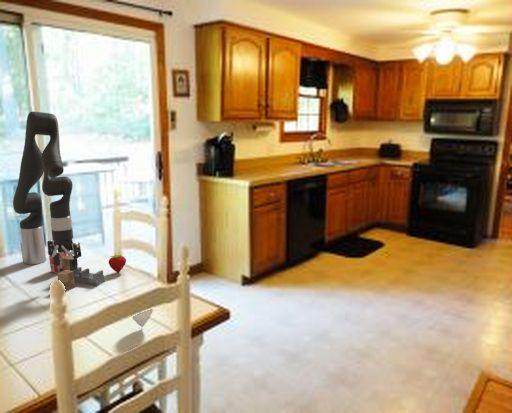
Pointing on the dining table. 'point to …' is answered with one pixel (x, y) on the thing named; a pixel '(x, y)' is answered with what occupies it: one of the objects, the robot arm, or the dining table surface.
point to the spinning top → (142, 317)
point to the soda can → (53, 267)
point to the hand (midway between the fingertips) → (65, 266)
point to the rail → (87, 277)
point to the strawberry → (117, 262)
